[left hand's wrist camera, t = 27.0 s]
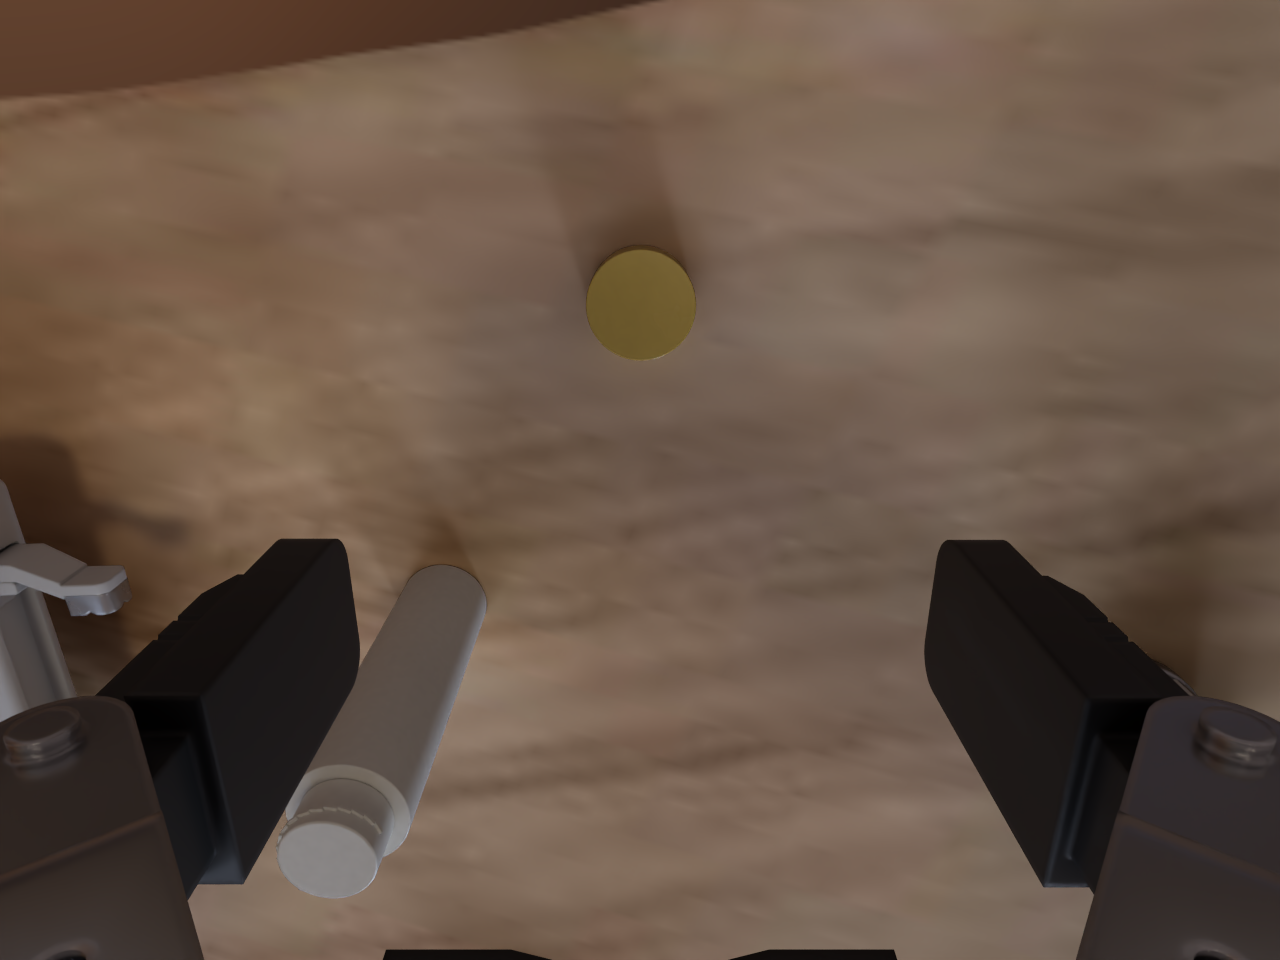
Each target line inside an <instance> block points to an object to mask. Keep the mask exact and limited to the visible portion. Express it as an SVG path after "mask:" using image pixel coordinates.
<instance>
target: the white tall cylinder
mask: <svg viewBox="0 0 1280 960" xmlns="http://www.w3.org/2000/svg"><path fill="white" fill-rule="evenodd" d="M486 606H487V604H486V597H485V594H484V591H483V589H482V587H481V585H480V584H479V583H478V581H477V580H476V579H475V578H474V577H473V576H471V575H470V574H469V573H467V572H466V571H464V570H462V569H459V568H457V567H453V566H448V565H435V566H430V567H427V568H424V569H422V570H420V571H418V572H417V573H416V574H414V575H413V576H412V577H411V578H410V580H409V581H408V583H407V584H406V586H405V588H404V590H403V591H402V593H401V595H400V597H399V598H398V600H397V602H396V604H395V605H394V607H393V609H392V611H391V612H390V614H389V616H388V618H387V619H386V621H385V623H384V625H383V626H382V628H381V630H380V632H379V634H378V635H377V637H376V639H375V641H374V642H373V644H372V646H371V648H370V649H369V651H368V653H367V655H366V656H365V658H364V660H363V662H362V663H361V665H360V667H359V669H358V673H357V677H356V681H355V684H354V686H353V688H352V690H351V692H350V694H349V696H348V697H347V699H346V701H345V703H344V705H343V706H342V708H341V710H340V712H339V714H338V715H337V717H336V719H335V721H334V722H333V724H332V726H331V728H330V730H329V731H328V733H327V735H326V737H325V739H324V740H323V742H322V744H321V746H320V748H319V749H318V751H317V753H316V755H315V756H314V758H313V760H312V762H311V764H310V765H309V767H308V769H307V771H306V773H305V774H304V776H303V778H302V780H301V782H300V783H299V785H298V787H297V789H296V790H295V792H294V794H293V796H292V798H291V799H290V801H289V803H288V805H287V807H286V808H285V812H286V817H287V820H288V822H287V824H286V825H285V826H284V828H283V829H282V831H281V833H280V834H279V838H278V842H277V846H276V850H277V860H278V864H279V867H280V869H281V871H282V873H283V874H284V876H285V877H286V878H287V879H288V881H290V882H291V883H292V884H293V885H294V886H296V887H297V888H298V889H299V890H301V891H304V892H306V893H309V894H311V895H315V896H318V897H323V898H343V897H348V896H352V895H355V894H357V893H359V892H361V891H362V890H364V889H365V888H366V887H367V886H368V885H369V884H370V883H371V882H372V881H373V879H374V878H375V876H376V873H377V871H378V868H379V866H380V863H381V860H382V858H383V857H385V856H387V855H389V854H390V853H392V852H393V851H395V850H396V849H397V848H398V847H399V846H400V845H401V844H402V843H403V841H404V840H405V838H406V837H407V834H408V832H409V830H410V827H411V824H412V821H413V818H414V815H415V812H416V810H417V807H418V804H419V801H420V798H421V795H422V793H423V790H424V787H425V784H426V781H427V778H428V775H429V773H430V770H431V767H432V764H433V761H434V758H435V756H436V753H437V750H438V747H439V744H440V741H441V738H442V736H443V733H444V730H445V727H446V724H447V721H448V719H449V716H450V713H451V710H452V707H453V704H454V702H455V699H456V696H457V693H458V690H459V687H460V684H461V682H462V679H463V676H464V673H465V670H466V667H467V665H468V662H469V659H470V656H471V653H472V650H473V647H474V645H475V642H476V639H477V636H478V633H479V630H480V628H481V625H482V622H483V619H484V616H485V613H486Z"/></svg>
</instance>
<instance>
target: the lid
mask: <svg viewBox="0 0 1280 960" xmlns="http://www.w3.org/2000/svg"><path fill="white" fill-rule="evenodd" d="M586 312H587V318H588V322H589V324H590V327H591V329H592V331H593V333H594V335H595V336H596V338H597V339H598V340H599V341H600V342H601V344H602V345H603V346H604V347H606V348H607V349H608V350H609V351H611V352H613V353H614V354H616V355H618V356H620V357H623V358H626V359H631V360H640V361H643V360H651V359H656V358H659V357H662V356H664V355H666V354H668V353H669V352H671V351H672V350H674V349H675V348H676V347H677V346H679V345H680V344H681V342H682V341H683V340H684V339H685V338H686V336H687V335H688V333H689V331H690V329H691V327H692V324H693V321H694V317H695V312H696V298H695V292H694V289H693V286H692V283H691V281H690V279H689V277H688V275H687V272H686V271H685V269H684V268H683V266H682V265H681V264H680V263H679V261H678V260H677V259H676V258H674V257H673V256H672V255H671V254H669V253H668V252H666V251H664V250H662V249H659V248H656V247H653V246H648V245H634V246H629V247H625V248H623V249H620V250H618V251H616V252H614V253H613V254H611V255H610V256H609V257H607V258H606V259H605V260H604V261H603V262H602V264H601V265H600V266H599V267H598V269H597V271H596V272H595V274H594V276H593V279H592V281H591V283H590V285H589V289H588V292H587V298H586Z"/></svg>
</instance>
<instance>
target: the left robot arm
mask: <svg viewBox="0 0 1280 960" xmlns="http://www.w3.org/2000/svg"><path fill="white" fill-rule="evenodd" d="M924 655H925V667H926V673H927V677H928V681H929V684H930V687H931V689H932V691H933V693H934V695H935V696H936V698H937V700H938V702H939V703H940V705H941V707H942V709H943V711H944V712H945V714H946V716H947V718H948V719H949V721H950V723H951V725H952V726H953V728H954V730H955V732H956V734H957V735H958V737H959V739H960V741H961V742H962V744H963V746H964V748H965V749H966V751H967V753H968V755H969V756H970V758H971V760H972V762H973V764H974V765H975V767H976V769H977V771H978V772H979V774H980V776H981V778H982V779H983V781H984V783H985V785H986V787H987V788H988V790H989V792H990V794H991V795H992V797H993V799H994V801H995V802H996V804H997V806H998V808H999V810H1000V811H1001V813H1002V815H1003V817H1004V818H1005V820H1006V822H1007V824H1008V825H1009V827H1010V829H1011V831H1012V833H1013V834H1014V836H1015V838H1016V840H1017V841H1018V843H1019V845H1020V847H1021V848H1022V850H1023V852H1024V854H1025V855H1026V857H1027V859H1028V861H1029V863H1030V864H1031V866H1032V868H1033V870H1034V871H1035V873H1036V875H1037V877H1038V878H1039V880H1040V882H1041V884H1042V886H1043V887H1090V889H1091V891H1092V892H1093V894H1094V897H1093V901H1092V904H1091V908H1090V912H1089V915H1088V919H1087V922H1086V926H1085V929H1084V933H1083V936H1082V940H1081V943H1080V947H1079V950H1078V954H1077V958H1076V960H1280V722H1279V721H1277V720H1275V719H1273V718H1271V717H1269V716H1267V715H1264V714H1262V713H1259V712H1257V711H1255V710H1252V709H1249V708H1246V707H1243V706H1241V705H1238V704H1234V703H1230V702H1227V701H1223V700H1218V699H1213V698H1207V697H1198V696H1197V694H1196V693H1195V692H1194V690H1193V689H1192V688H1191V687H1190V686H1189V685H1188V684H1187V683H1186V682H1185V681H1184V680H1183V679H1182V678H1180V677H1179V676H1178V675H1177V674H1176V673H1175V672H1174V671H1172V670H1171V669H1170V668H1168V667H1166V666H1165V665H1163V664H1161V663H1159V662H1156V661H1153V660H1152V659H1151V658H1150V657H1149V656H1147V655H1146V654H1145V653H1144V652H1143V651H1142V650H1141V649H1140V648H1139V647H1138V646H1137V645H1136V644H1135V643H1134V642H1128V637H1127V636H1126V635H1125V634H1124V633H1123V632H1122V631H1121V630H1120V629H1119V628H1118V627H1117V626H1116V625H1115V624H1114V623H1113V622H1108V618H1107V617H1106V616H1105V615H1104V614H1103V613H1102V612H1101V611H1100V610H1099V609H1098V608H1097V607H1096V606H1095V605H1094V604H1093V603H1092V602H1091V601H1090V600H1088V599H1087V598H1086V597H1085V596H1084V595H1083V594H1081V593H1079V592H1077V591H1075V590H1073V589H1071V588H1070V587H1068V586H1066V585H1064V584H1062V583H1060V582H1058V581H1056V580H1055V579H1053V578H1051V577H1049V576H1042V575H1041V574H1040V573H1039V572H1038V571H1037V570H1036V569H1035V568H1034V567H1033V566H1032V565H1031V564H1030V563H1029V562H1028V561H1027V560H1026V559H1025V558H1024V557H1023V556H1022V555H1021V554H1020V553H1019V552H1018V551H1017V550H1016V549H1015V548H1014V547H1013V546H1012V545H1011V544H1010V543H1008V542H1007V541H1005V540H946V541H945V542H944V543H943V544H942V545H941V547H940V550H939V552H938V556H937V561H936V568H935V575H934V582H933V589H932V596H931V603H930V610H929V617H928V624H927V631H926V638H925V649H924ZM359 659H360V642H359V634H358V627H357V620H356V613H355V606H354V599H353V592H352V585H351V578H350V571H349V563H348V557H347V553H346V549H345V547H344V545H343V543H342V542H341V541H340V540H339V539H280V540H278V541H276V542H275V543H274V544H273V545H272V546H271V547H270V548H269V549H268V550H267V551H266V552H265V553H264V554H263V555H262V556H261V557H260V558H259V559H258V560H257V561H256V562H255V564H254V565H253V566H252V567H251V568H250V569H249V570H248V571H247V572H246V573H245V574H238V575H236V576H234V577H232V578H230V579H228V580H226V581H224V582H223V583H221V584H219V585H217V586H215V587H213V588H211V589H209V590H208V591H206V592H204V593H202V594H201V595H200V596H199V597H198V598H197V599H196V600H195V601H193V602H192V603H191V604H190V605H189V606H188V607H187V608H186V609H185V610H184V611H183V612H182V613H181V614H180V615H179V616H178V621H173V622H172V623H171V624H169V625H168V626H167V627H166V628H165V629H164V630H163V631H162V632H161V633H160V634H159V635H158V640H153V641H152V642H151V643H150V644H149V645H148V646H146V647H145V648H144V649H143V650H142V651H141V652H140V653H139V654H138V655H137V656H136V657H135V658H134V659H133V660H132V661H131V662H130V663H129V664H128V665H127V666H126V667H125V668H124V669H122V670H121V671H120V672H119V673H118V674H117V675H116V676H115V677H114V678H113V679H112V680H111V681H110V682H109V683H108V684H107V685H106V686H105V687H104V688H103V689H102V690H101V691H100V692H98V693H97V694H96V695H95V696H82V697H73V698H67V699H62V700H57V701H53V702H50V703H46V704H42V705H39V706H37V707H34V708H31V709H28V710H25V711H23V712H21V713H18V714H16V715H13V716H11V717H9V718H7V719H5V720H3V721H1V722H0V960H204V958H203V954H202V950H201V947H200V943H199V940H198V936H197V933H196V929H195V926H194V922H193V919H192V915H191V912H190V908H189V904H188V899H189V897H190V896H191V894H192V893H193V891H194V889H195V888H196V886H197V885H198V884H244V882H245V880H246V878H247V876H248V875H249V873H250V871H251V869H252V867H253V866H254V864H255V862H256V860H257V859H258V857H259V855H260V853H261V851H262V850H263V848H264V846H265V844H266V842H267V841H268V839H269V837H270V835H271V833H272V832H273V830H274V828H275V826H276V824H277V823H278V821H279V819H280V817H281V816H282V814H283V812H284V810H285V808H286V807H287V805H288V803H289V801H290V799H291V798H292V796H293V794H294V792H295V790H296V789H297V787H298V785H299V783H300V782H301V780H302V778H303V776H304V774H305V773H306V771H307V769H308V767H309V765H310V764H311V762H312V760H313V758H314V756H315V755H316V753H317V751H318V749H319V748H320V746H321V744H322V742H323V740H324V739H325V737H326V735H327V733H328V731H329V730H330V728H331V726H332V724H333V722H334V721H335V719H336V717H337V715H338V714H339V712H340V710H341V708H342V706H343V705H344V703H345V701H346V699H347V697H348V696H349V694H350V692H351V690H352V688H353V686H354V684H355V681H356V677H357V673H358V668H359ZM383 960H550V959H546V958H542V957H538V956H534V955H530V954H526V953H522V952H518V951H514V950H386V952H385V955H384V958H383ZM730 960H897V958H896V955H895V952H894V950H766V951H762V952H758V953H754V954H750V955H746V956H742V957H738V958H734V959H730Z"/></svg>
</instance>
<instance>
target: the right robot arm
mask: <svg viewBox="0 0 1280 960" xmlns="http://www.w3.org/2000/svg"><path fill="white" fill-rule="evenodd" d="M42 592H45V593H47V594H50V595H53V596H56V597H58V598H61V599H65V600H66V603H67V606H68V609H69V611H70V614H71V616H87V615H88V614H89V613H94V614H96V615H106V614H110V613H113V612H115V611H117V610H119V609H120V608H121V607H122V605H123V603H124V602H128V601H130V600H131V599H132V593H131V589H130V586H129V582H128V578H127V576H126V573H125V569H124V566H121V565H114V566H87V564H86V563H84V562H82V561H80V560H78V559H76V558H74V557H72V556H70V555H68V554H65V553H63V552H61V551H59V550H57V549H55V548H53V547H51V546H49V545H47V544H44V543H34V544H26V543H25V540H24V537H23V534H22V531H21V528H20V525H19V522H18V519H17V516H16V513H15V510H14V507H13V504H12V501H11V498H10V495H9V492H8V489H7V487H6V484H5V483H4V482H3V481H2V480H1V479H0V722H1V721H3V720H5V719H7V718H9V717H11V716H13V715H16V714H18V713H21V712H23V711H25V710H28V709H31V708H34V707H37V706H39V705H42V704H46V703H50V702H53V701H57V700H62V699H67V698H73V697H77V694H76V691H75V688H74V685H73V682H72V679H71V676H70V673H69V670H68V667H67V664H66V661H65V658H64V655H63V652H62V650H61V647H60V644H59V641H58V638H57V635H56V632H55V629H54V626H53V623H52V620H51V617H50V614H49V611H48V608H47V605H46V602H45V599H44V596H43V593H42Z"/></svg>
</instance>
